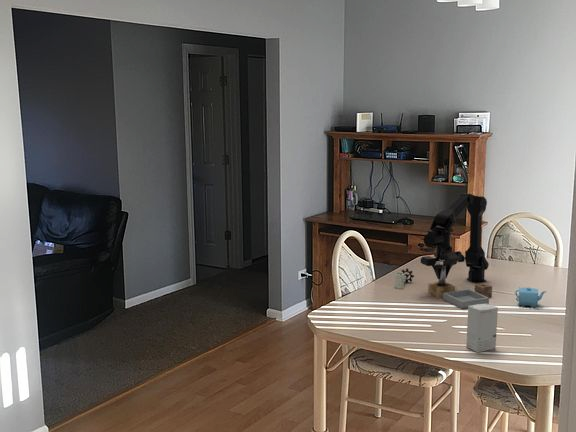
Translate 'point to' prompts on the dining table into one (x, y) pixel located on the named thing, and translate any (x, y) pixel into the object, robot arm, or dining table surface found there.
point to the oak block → (440, 289)
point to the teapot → (528, 296)
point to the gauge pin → (442, 276)
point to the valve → (402, 278)
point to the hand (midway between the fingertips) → (441, 278)
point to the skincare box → (482, 327)
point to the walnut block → (484, 289)
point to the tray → (465, 298)
